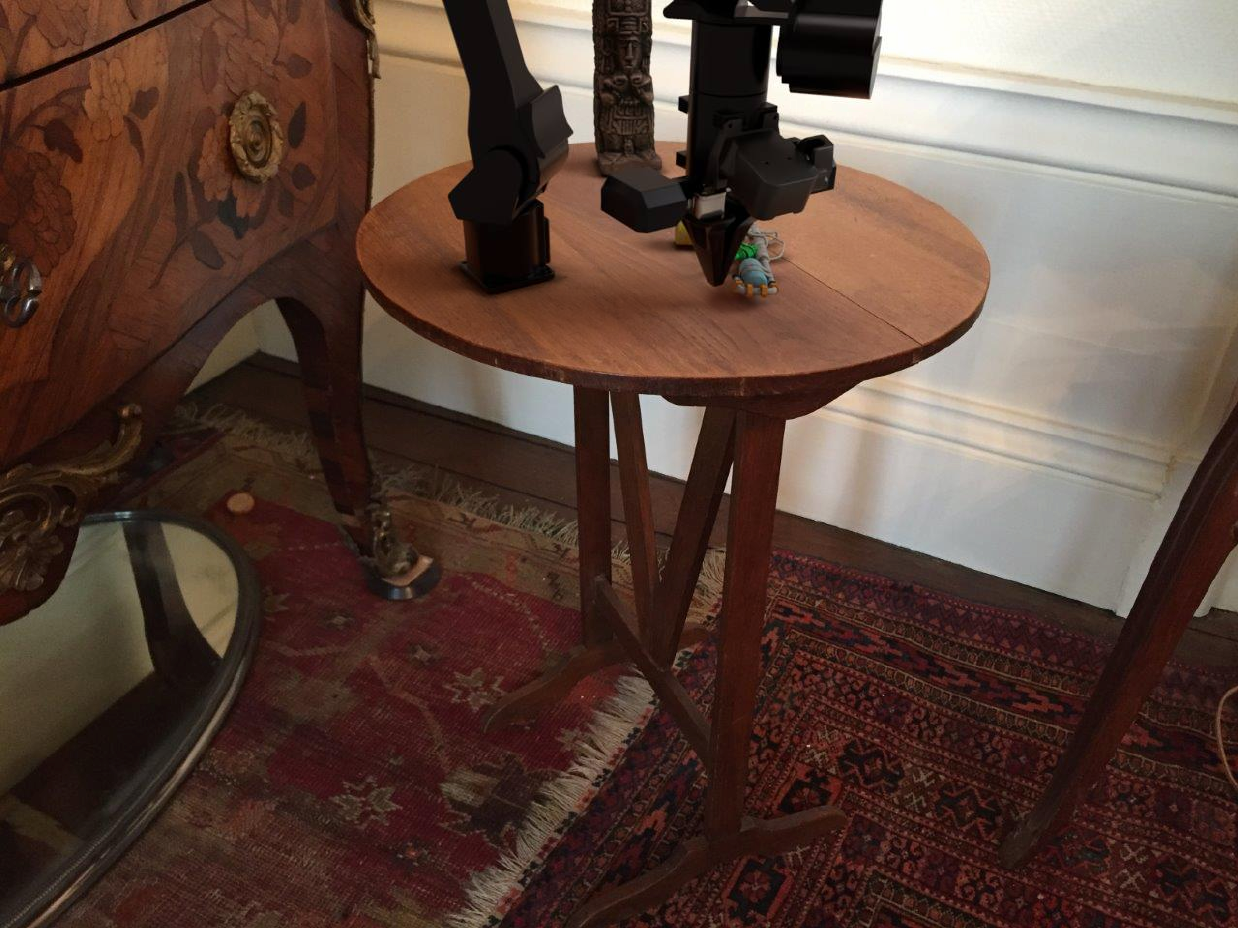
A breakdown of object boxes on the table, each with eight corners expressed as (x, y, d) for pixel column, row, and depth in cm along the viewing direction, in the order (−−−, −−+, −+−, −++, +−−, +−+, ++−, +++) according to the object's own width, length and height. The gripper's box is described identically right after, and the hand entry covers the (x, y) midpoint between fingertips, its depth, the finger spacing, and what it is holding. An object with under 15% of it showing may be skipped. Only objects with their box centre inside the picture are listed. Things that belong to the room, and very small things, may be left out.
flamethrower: (682, 305, 78) (804, 311, 79) (686, 274, 77) (809, 281, 77) (665, 187, 102) (759, 192, 103) (668, 162, 101) (762, 167, 101)
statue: (602, 178, 104) (601, -26, 93) (588, 157, 110) (586, -38, 98) (663, 173, 106) (669, -29, 94) (646, 153, 111) (650, -40, 99)
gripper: (685, 136, 60) (675, 355, 69) (902, 95, 68) (868, 296, 77) (595, 94, 68) (597, 296, 77) (800, 62, 76) (780, 248, 85)
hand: (715, 284), depth 79 cm, fingers closed
